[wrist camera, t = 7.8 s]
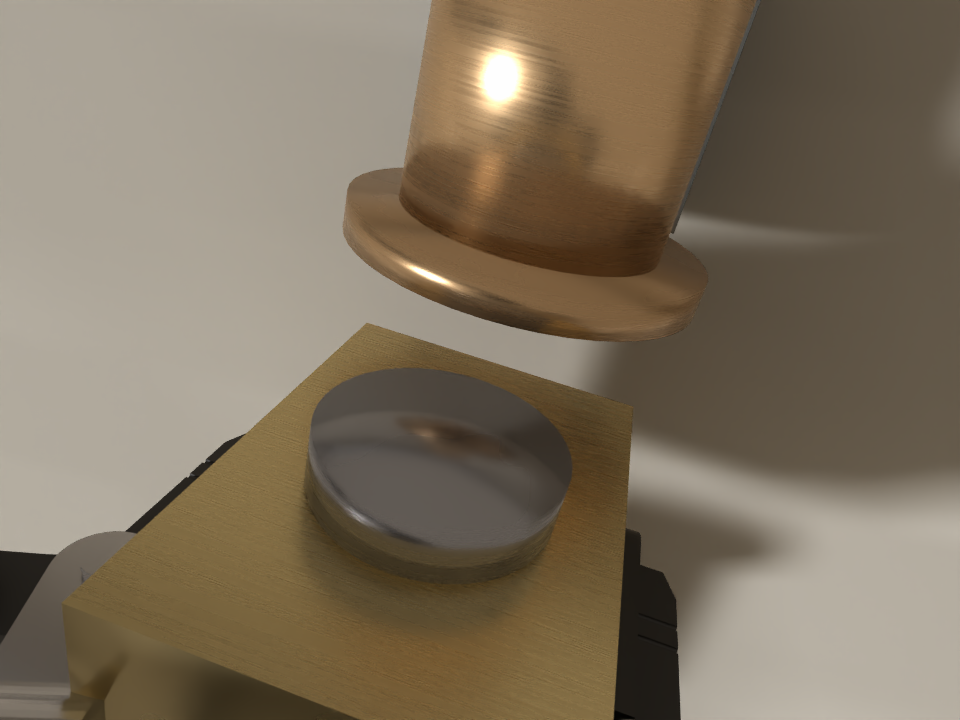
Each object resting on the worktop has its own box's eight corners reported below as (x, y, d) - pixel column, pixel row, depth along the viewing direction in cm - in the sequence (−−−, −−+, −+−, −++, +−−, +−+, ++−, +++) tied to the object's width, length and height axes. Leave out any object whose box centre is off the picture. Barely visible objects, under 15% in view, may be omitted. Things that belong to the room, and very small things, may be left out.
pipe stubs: (347, 606, 22) (223, 831, 16) (483, -117, 13) (313, -292, 6) (519, 670, 21) (462, 932, 15) (793, -44, 12) (954, -160, 6)
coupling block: (373, 282, 12) (54, 536, 5) (648, 367, 11) (639, 758, 5) (331, 554, 15) (94, 914, 8) (545, 631, 14) (460, 1080, 8)
